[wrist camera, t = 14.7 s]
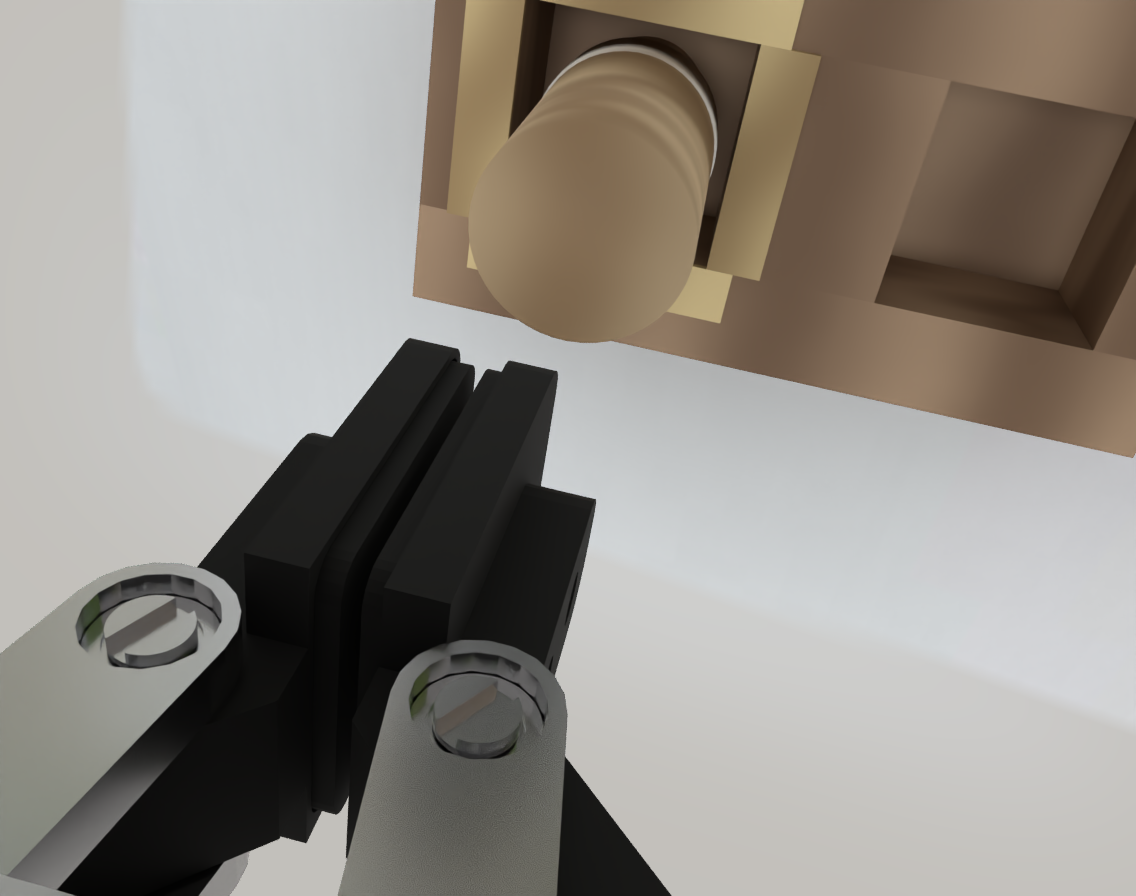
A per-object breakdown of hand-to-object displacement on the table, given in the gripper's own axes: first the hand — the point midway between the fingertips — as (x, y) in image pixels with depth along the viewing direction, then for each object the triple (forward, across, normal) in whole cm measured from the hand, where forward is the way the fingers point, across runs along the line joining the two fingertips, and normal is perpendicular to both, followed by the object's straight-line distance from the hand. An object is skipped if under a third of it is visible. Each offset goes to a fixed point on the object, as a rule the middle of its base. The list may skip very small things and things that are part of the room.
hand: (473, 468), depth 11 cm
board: (+21, -4, +1) cm, 22 cm away
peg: (+20, +1, 0) cm, 20 cm away
